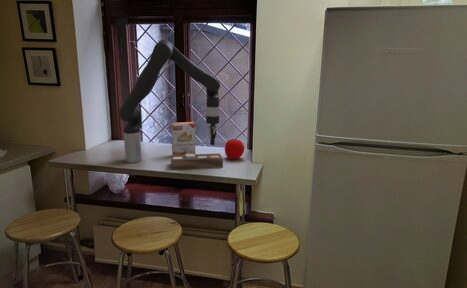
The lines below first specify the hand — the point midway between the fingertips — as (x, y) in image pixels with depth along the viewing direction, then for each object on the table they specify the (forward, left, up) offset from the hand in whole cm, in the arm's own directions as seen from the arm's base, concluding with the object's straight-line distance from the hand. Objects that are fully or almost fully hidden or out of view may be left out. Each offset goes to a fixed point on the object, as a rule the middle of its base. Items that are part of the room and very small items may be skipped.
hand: (212, 144), depth 190 cm
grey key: (+1, -13, -8) cm, 15 cm away
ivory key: (+1, -20, -10) cm, 22 cm away
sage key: (+1, -6, -10) cm, 11 cm away
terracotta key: (+1, +1, -10) cm, 10 cm away
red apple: (-10, +15, -12) cm, 21 cm away
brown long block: (+1, -9, -12) cm, 15 cm away
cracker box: (-22, -15, -12) cm, 29 cm away
